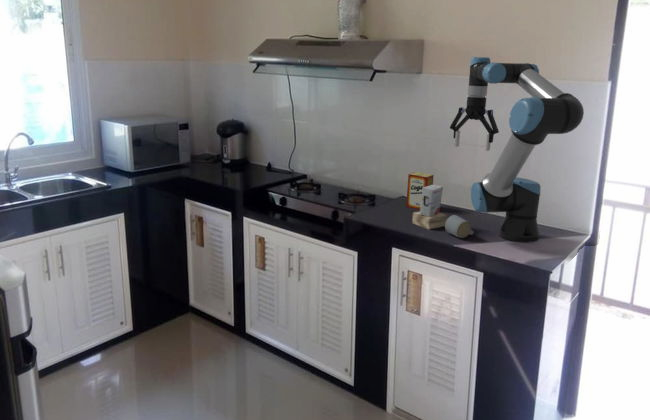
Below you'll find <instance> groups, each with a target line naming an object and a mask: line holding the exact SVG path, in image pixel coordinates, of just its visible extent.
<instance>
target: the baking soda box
mask: <svg viewBox="0 0 650 420" xmlns="http://www.w3.org/2000/svg"><path fill="white" fill-rule="evenodd" d="M407 175H408V177H407V178H408V179H407V190H406V191H407V192H406V207H407V208H411V209H416V210H420V208H421V201H422V193H423V187H426V186H430V185H433V184H434V176H435V175H434V174H430V173H425V172H419V171H415V172H411V173H408V174H407Z"/></svg>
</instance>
